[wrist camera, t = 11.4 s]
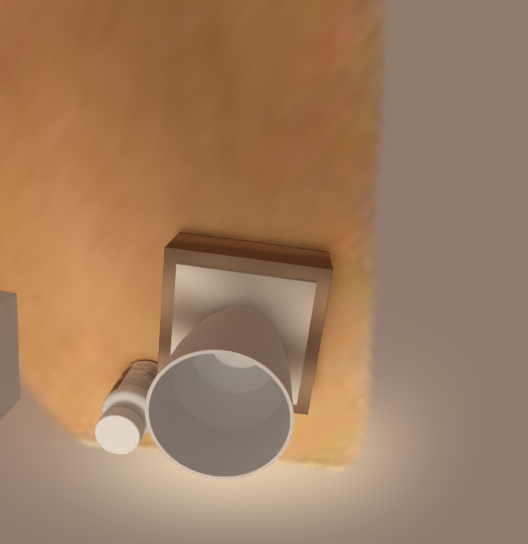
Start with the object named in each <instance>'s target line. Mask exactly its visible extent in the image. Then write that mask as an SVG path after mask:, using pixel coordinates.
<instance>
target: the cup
mask: <svg viewBox="0 0 528 544" xmlns="http://www.w3.org/2000/svg"><path fill="white" fill-rule="evenodd" d="M145 417H146V423H147V426H148V430H149V432H150V434H151V437H152V439H153V440H154V442H155V444H156V445H157V446H158V448H159V449H160V450H161V451H162V453H163V454H164V455H165V456H166V457H167V458H169V459H170V460H171V461H172V462H173V463H175V464H176V465H178V466H179V467H181V468H183V469H185V470H187V471H189V472H191V473H194V474H196V475H199V476H203V477H207V478H212V479H238V478H243V477H247V476H250V475H253V474H256V473H258V472H260V471H262V470H264V469H266V468H267V467H269V466H270V465H271V464H273V463H274V462H275V461H276V460H277V459H278V458H279V457H280V456H281V455H282V453H283V452H284V451H285V449H286V447H287V446H288V444H289V441H290V439H291V436H292V433H293V428H294V410H293V399H292V387H291V376H290V369H289V366H288V362H287V359H286V356H285V352H284V349H283V346H282V343H281V340H280V337H279V335H278V334H277V332H276V331H275V329H274V328H273V327H272V325H271V324H270V323H269V321H268V320H267V319H266V318H265V317H264V316H263V315H262V314H261V313H259V312H258V311H256V310H254V309H252V308H249V307H244V306H233V307H229V308H226V309H223V310H221V311H219V312H216V313H214V314H212V315H210V316H208V317H207V318H205V319H204V320H203V321H202V322H200V323H199V324H198V325H197V326H196V327H195V328H194V329H193V330H192V331H191V332H190V333H189V334H188V335H187V336H186V337H185V338H184V339H183V340H182V341H181V342H180V343H179V344H178V346H177V347H176V348H175V350H174V351H173V353H172V354H171V356H170V357H169V359H168V360H167V362H166V363H165V364H164V366H163V367H162V369H161V370H160V372H159V373H158V375H157V376H156V378H155V379H154V381H153V382H152V384H151V386H150V388H149V391H148V394H147V397H146V403H145Z"/></svg>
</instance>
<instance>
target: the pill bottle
mask: <svg viewBox="0 0 528 544" xmlns="http://www.w3.org/2000/svg"><path fill="white" fill-rule="evenodd" d="M157 373H158V364H157V363H154V362H151V361H138V362H135V363H133V364H131V365H130V366H128V367H127V368H126V370H125V371H124V373H123V374H122V376H121V377H120V378H119V380H118V381H117V383H116V384H115V386H114V387H113V389H112V390H111V392H110V393H109V395H108V396H107V398H106V399H105V401H104V403H103V406H102V416H101V418H100V420H99V421H98V423H97V425H96V428H95V436H96V439H97V441H98V443H99V444H100V445H101V446H102V447H103V448H104V449H105V450H107V451H109V452H111V453H114V454H126V453H129V452H131V451H133V450H134V449H135V448H136V447H137V446H138V444H139V443H140V441H141V439H142V437H143V436H144V435H146V434H147V433H148V432H149V430H148V426H147V423H146V417H145V403H146V397H147V394H148V391H149V388H150V386H151V384H152V382H153V381H154V379H155V378H156V376H157Z"/></svg>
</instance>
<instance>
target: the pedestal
mask: <svg viewBox="0 0 528 544" xmlns="http://www.w3.org/2000/svg"><path fill="white" fill-rule="evenodd" d="M332 272H333V268H332V264H331V260H330V255H329V252H323V251H315V250H308V249H301V248H293V247H286V246H278V245H271V244H263V243H256V242H248V241H241V240H233V239H226V238H218V237H211V236H203V235H196V234H188V233H181V232H180V233H179V234H178V235H177V236H176V237H175V238H174V239H173V240H172V241H170V242H169V243H168V244H167V245H166V246H165V251H164V268H163V286H162V303H161V321H160V338H159V356H158V373H159V372H160V370H161V369H162V367H163V366H164V364H165V363H166V362H167V360H168V359H169V357H170V356H171V354H172V353H173V351H174V350H175V348H176V347H177V346H178V344H179V343H180V342H181V341H182V340H183V339H184V338H185V337H186V336H187V335H188V334H189V333H190V332H191V331H192V330H193V329H194V328H195V327H196V326H197V325H198V324H199V323H200V322H202V321H203V320H204V319H205V318H207V317H208V316H210V315H212V314H214V313H216V312H219V311H221V310H223V309H226V308H229V307H233V306H244V307H249V308H252V309H254V310H256V311H258V312H259V313H261V314H262V315H263V316H264V317H265V318H266V319H267V320H268V321H269V323H270V324H271V325H272V327H273V328H274V329H275V331H276V332H277V334H278V335H279V337H280V340H281V343H282V346H283V349H284V352H285V356H286V359H287V362H288V366H289V369H290V376H291V387H292V399H293V410H294V413H299V414H306V415H308V410H309V404H310V398H311V393H312V387H313V381H314V375H315V370H316V364H317V358H318V352H319V347H320V341H321V335H322V330H323V324H324V318H325V312H326V307H327V301H328V295H329V289H330V284H331V278H332ZM158 373H157V375H158Z"/></svg>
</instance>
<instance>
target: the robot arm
mask: <svg viewBox="0 0 528 544" xmlns="http://www.w3.org/2000/svg"><path fill="white" fill-rule="evenodd" d="M19 400H20V378H19V348H18V318H17V293H11V292H5V291H0V420H1V419H2V418H3V417H4V416H5V415H6V414H7V413H8V412H9V410H10V409H11V408H12V407H13V406H14V405H15V404H16V403H17V402H18V401H19Z"/></svg>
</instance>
